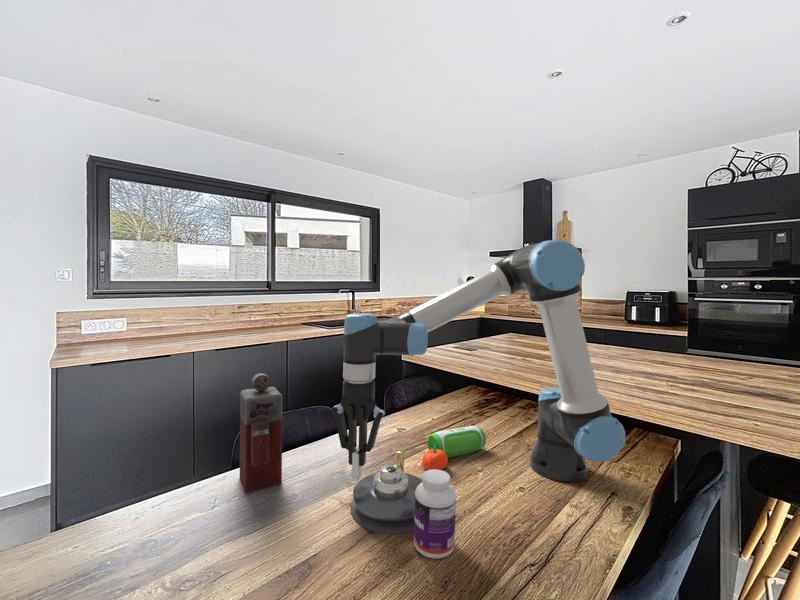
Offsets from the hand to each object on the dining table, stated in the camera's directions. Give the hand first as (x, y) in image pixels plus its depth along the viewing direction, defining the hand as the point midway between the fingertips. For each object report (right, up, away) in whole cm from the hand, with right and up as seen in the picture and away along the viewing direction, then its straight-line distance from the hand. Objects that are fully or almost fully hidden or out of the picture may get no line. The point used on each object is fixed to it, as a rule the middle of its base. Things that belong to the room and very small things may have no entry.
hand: (356, 477), depth 89 cm
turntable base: (+8, -6, -2) cm, 10 cm away
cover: (+8, -2, -2) cm, 9 cm away
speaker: (+28, -6, +28) cm, 40 cm away
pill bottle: (+17, -7, -15) cm, 24 cm away
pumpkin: (+20, -6, +17) cm, 27 cm away
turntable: (+9, -4, -2) cm, 10 cm away
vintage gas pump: (-25, -5, +8) cm, 27 cm away
